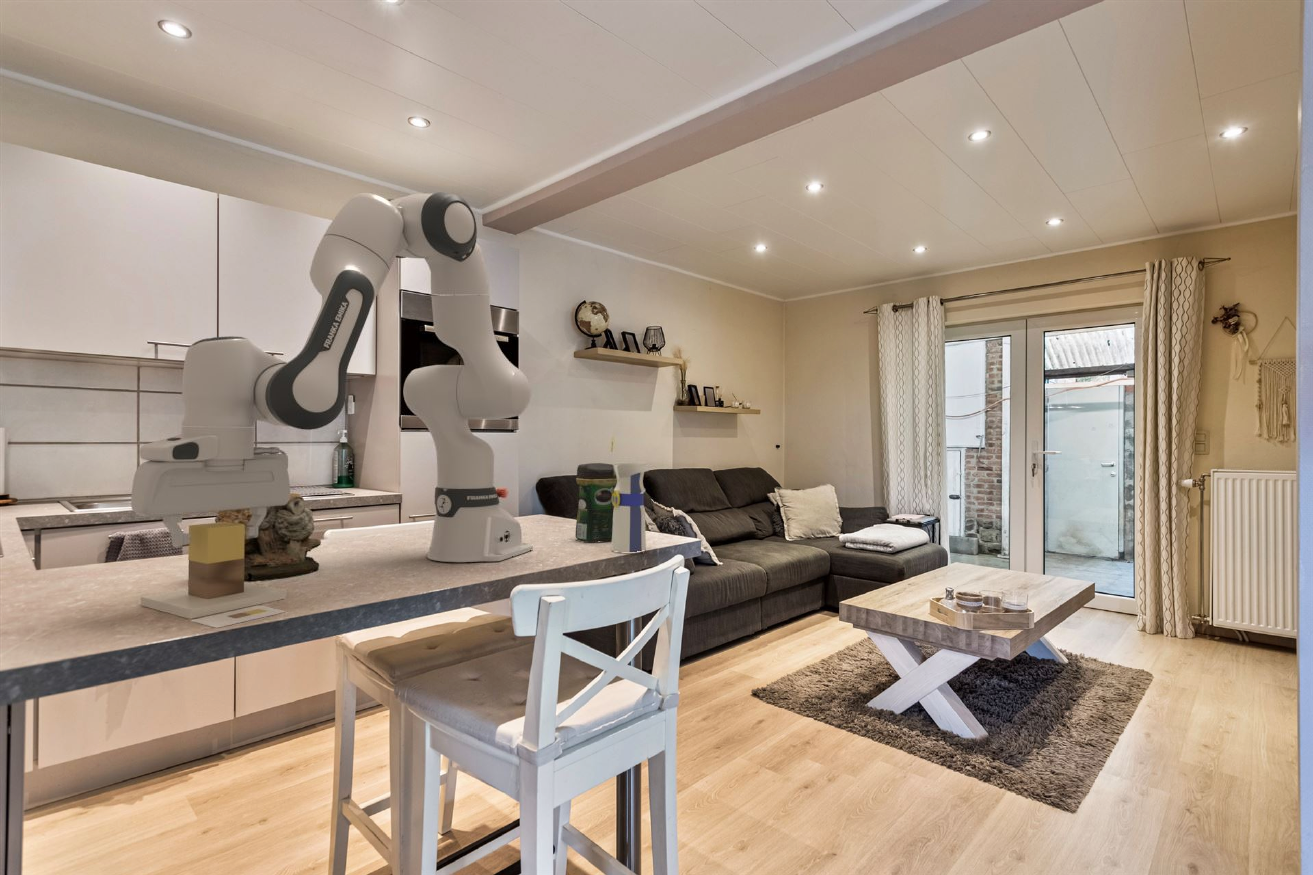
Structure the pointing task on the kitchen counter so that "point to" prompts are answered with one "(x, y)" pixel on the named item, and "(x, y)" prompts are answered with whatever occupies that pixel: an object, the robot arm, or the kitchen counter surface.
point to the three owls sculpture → (277, 540)
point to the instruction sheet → (237, 616)
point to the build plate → (211, 601)
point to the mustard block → (216, 542)
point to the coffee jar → (595, 502)
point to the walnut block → (216, 578)
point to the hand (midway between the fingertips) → (217, 541)
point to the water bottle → (629, 507)
